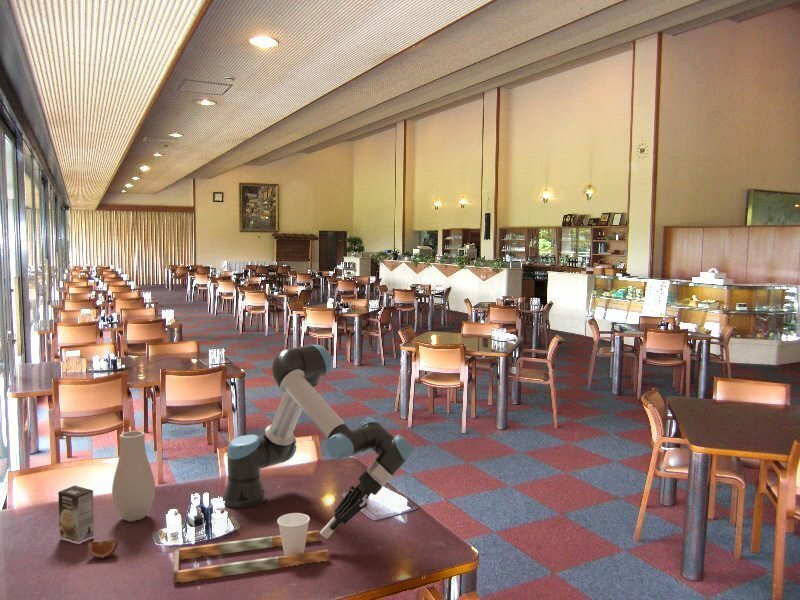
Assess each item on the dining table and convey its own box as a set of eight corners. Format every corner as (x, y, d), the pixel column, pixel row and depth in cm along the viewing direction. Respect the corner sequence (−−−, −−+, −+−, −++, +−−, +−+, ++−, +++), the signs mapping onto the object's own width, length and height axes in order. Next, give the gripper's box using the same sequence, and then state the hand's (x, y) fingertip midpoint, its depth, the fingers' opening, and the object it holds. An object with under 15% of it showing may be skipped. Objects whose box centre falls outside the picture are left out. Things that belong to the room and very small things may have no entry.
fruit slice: (85, 562, 194) (84, 546, 194) (92, 552, 201) (91, 536, 200) (114, 560, 195) (114, 544, 195) (120, 550, 202) (120, 534, 201)
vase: (104, 522, 222) (101, 437, 219) (134, 508, 235) (131, 426, 232) (135, 529, 217) (132, 441, 214) (164, 514, 229) (162, 430, 227)
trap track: (318, 539, 210) (318, 530, 210) (328, 560, 195) (328, 551, 195) (175, 558, 196) (174, 548, 196) (173, 583, 182) (173, 573, 182)
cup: (303, 563, 194) (303, 527, 193) (272, 559, 196) (272, 524, 195) (314, 548, 204) (314, 514, 203) (284, 545, 206) (284, 511, 205)
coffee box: (58, 540, 209) (56, 491, 207) (76, 532, 214) (74, 485, 213) (78, 545, 205) (76, 496, 204) (95, 537, 211) (94, 489, 209)
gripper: (388, 492, 201) (336, 552, 197) (377, 478, 213) (327, 534, 209) (372, 477, 199) (318, 537, 195) (361, 464, 211) (311, 520, 207)
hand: (323, 535), depth 202 cm, fingers closed
